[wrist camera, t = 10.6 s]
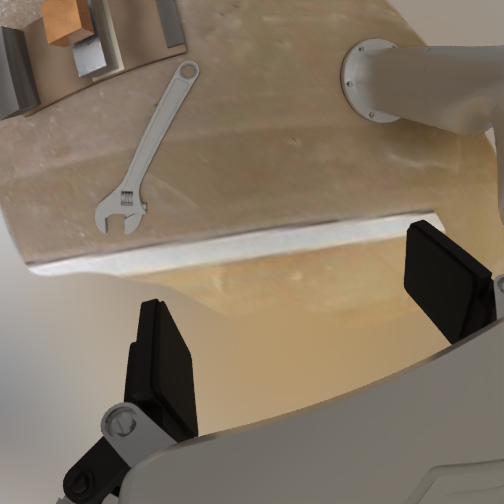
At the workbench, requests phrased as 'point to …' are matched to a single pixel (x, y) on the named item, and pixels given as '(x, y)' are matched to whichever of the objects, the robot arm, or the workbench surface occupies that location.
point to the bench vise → (63, 62)
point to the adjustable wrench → (145, 156)
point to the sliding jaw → (81, 34)
